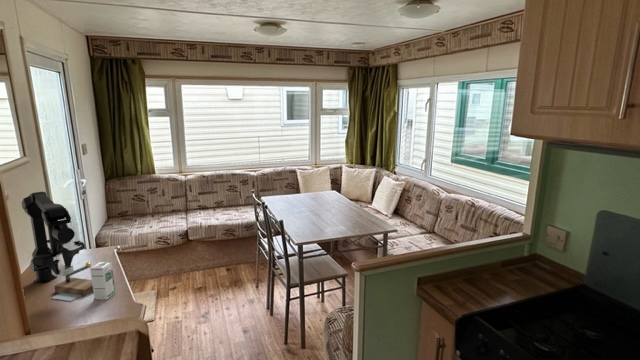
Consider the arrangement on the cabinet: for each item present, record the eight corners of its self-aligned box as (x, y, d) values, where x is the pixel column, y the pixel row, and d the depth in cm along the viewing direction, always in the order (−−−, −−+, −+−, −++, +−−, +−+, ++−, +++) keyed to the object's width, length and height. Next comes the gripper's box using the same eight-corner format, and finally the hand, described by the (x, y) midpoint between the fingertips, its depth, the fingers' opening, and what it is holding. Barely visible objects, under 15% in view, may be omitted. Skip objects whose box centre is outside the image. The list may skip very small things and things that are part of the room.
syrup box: (107, 299, 146) (103, 267, 143) (93, 299, 146) (89, 267, 143) (115, 293, 151) (112, 261, 149) (102, 292, 151) (98, 261, 149)
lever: (67, 282, 153) (66, 273, 152) (64, 282, 154) (63, 272, 153) (93, 271, 164) (91, 262, 163) (89, 271, 165) (88, 261, 164)
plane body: (55, 291, 152) (54, 285, 151) (71, 283, 160) (70, 277, 159) (85, 296, 148) (84, 289, 148) (100, 287, 156) (100, 281, 155)
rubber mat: (51, 298, 146) (51, 297, 146) (62, 293, 151) (62, 292, 151) (70, 301, 144) (70, 300, 144) (81, 295, 149) (81, 295, 149)
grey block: (52, 274, 144) (51, 269, 143) (62, 270, 148) (61, 264, 148) (63, 276, 143) (63, 270, 142) (73, 271, 147) (73, 266, 146)
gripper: (51, 246, 132) (57, 284, 135) (93, 230, 150) (97, 264, 152) (28, 244, 134) (34, 281, 137) (72, 228, 152) (76, 262, 155)
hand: (62, 272), depth 145 cm, fingers closed on grey block, 4 cm apart
